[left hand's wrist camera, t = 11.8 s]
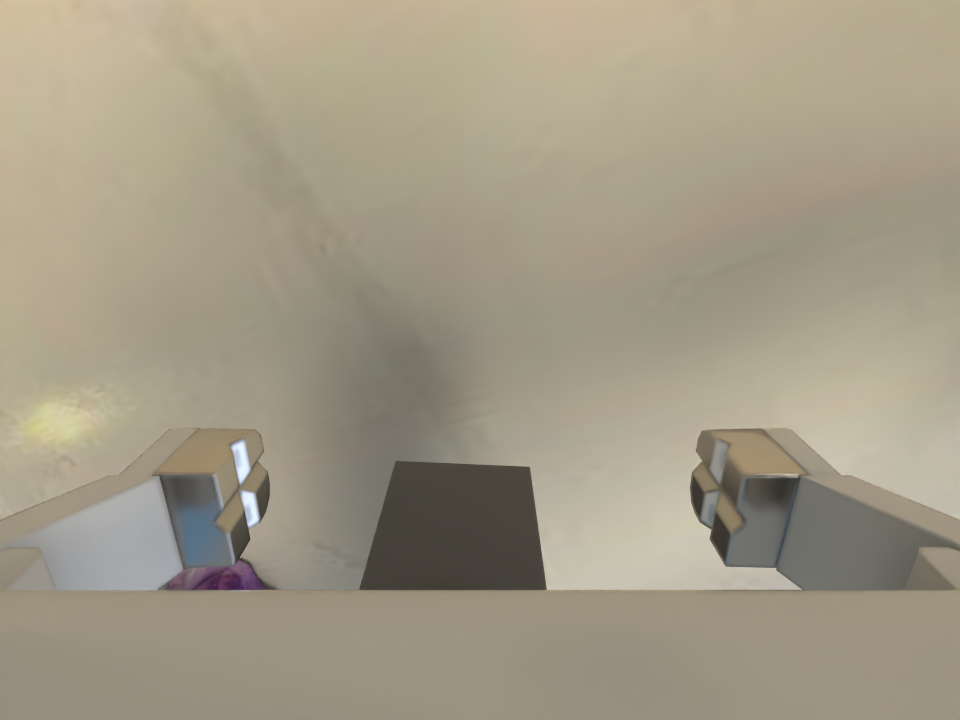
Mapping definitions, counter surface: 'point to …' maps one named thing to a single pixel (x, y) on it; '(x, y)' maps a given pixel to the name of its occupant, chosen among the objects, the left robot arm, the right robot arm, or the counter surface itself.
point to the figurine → (217, 578)
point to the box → (456, 530)
